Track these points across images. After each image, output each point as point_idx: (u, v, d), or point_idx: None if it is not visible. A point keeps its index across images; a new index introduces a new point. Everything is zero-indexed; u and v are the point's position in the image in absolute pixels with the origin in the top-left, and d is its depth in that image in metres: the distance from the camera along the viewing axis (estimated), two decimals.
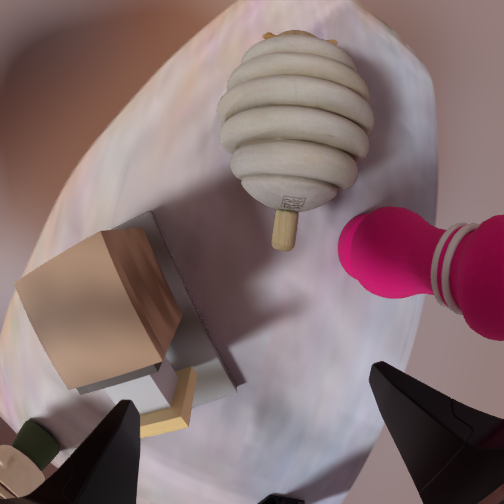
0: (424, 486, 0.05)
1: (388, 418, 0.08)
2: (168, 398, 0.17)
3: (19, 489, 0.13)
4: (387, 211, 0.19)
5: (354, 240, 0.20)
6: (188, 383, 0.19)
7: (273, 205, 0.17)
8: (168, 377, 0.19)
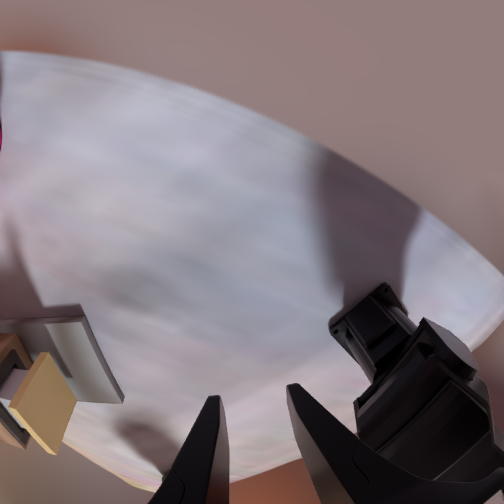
0: None
1: (300, 445, 0.08)
2: None
3: None
4: None
5: None
6: (29, 371, 0.16)
7: None
8: None
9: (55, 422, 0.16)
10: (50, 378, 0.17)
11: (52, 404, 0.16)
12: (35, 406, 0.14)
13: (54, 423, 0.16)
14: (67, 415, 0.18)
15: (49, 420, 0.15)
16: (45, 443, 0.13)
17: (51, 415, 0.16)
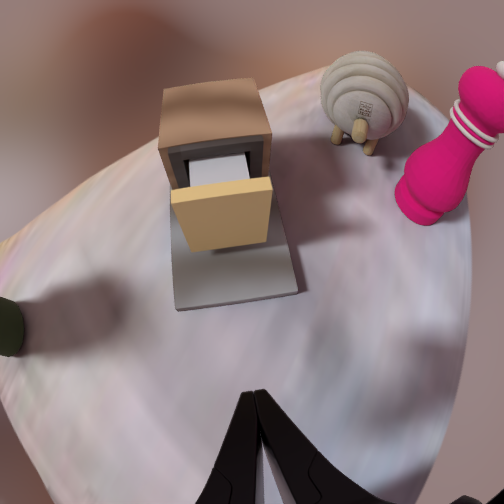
0: None
1: (266, 451, 0.08)
2: None
3: None
4: None
5: (406, 163, 0.25)
6: None
7: (353, 113, 0.24)
8: None
9: (203, 222, 0.19)
10: (245, 235, 0.21)
11: (222, 227, 0.20)
12: (245, 210, 0.18)
13: (204, 220, 0.18)
14: (191, 236, 0.20)
15: (214, 217, 0.18)
16: (199, 198, 0.16)
17: (215, 221, 0.19)
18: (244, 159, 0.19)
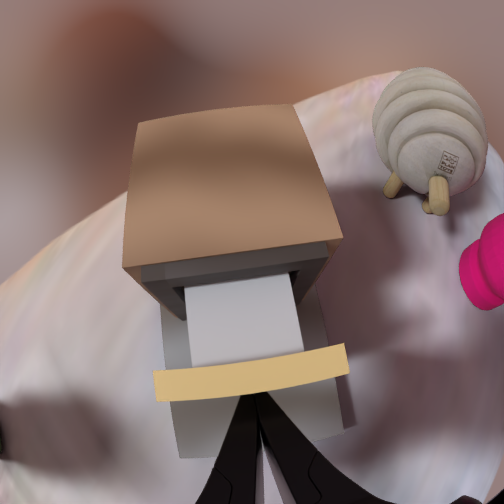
0: None
1: (266, 451, 0.08)
2: None
3: None
4: None
5: (484, 237, 0.16)
6: None
7: (431, 167, 0.15)
8: None
9: None
10: None
11: None
12: None
13: None
14: None
15: None
16: (211, 396, 0.08)
17: None
18: (286, 276, 0.11)
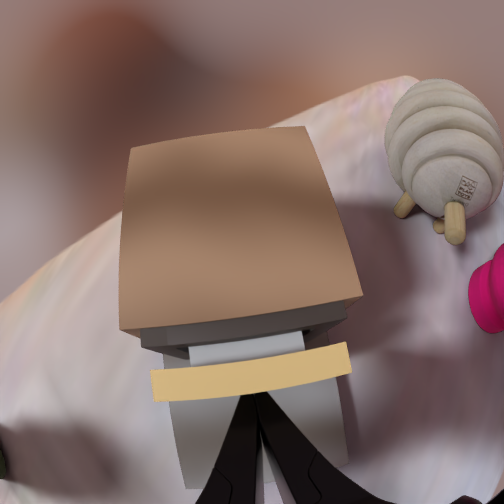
0: None
1: (266, 451, 0.08)
2: None
3: None
4: None
5: (496, 263, 0.15)
6: None
7: (448, 193, 0.14)
8: None
9: None
10: None
11: None
12: None
13: None
14: None
15: None
16: (209, 396, 0.07)
17: None
18: None
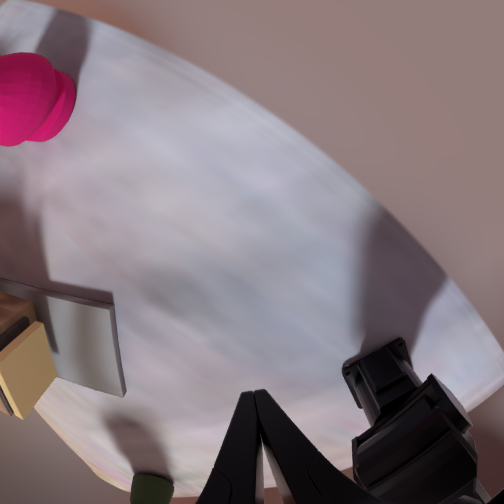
0: None
1: (266, 451, 0.08)
2: None
3: None
4: None
5: None
6: (19, 335, 0.17)
7: None
8: None
9: (31, 389, 0.16)
10: (38, 347, 0.18)
11: (33, 372, 0.17)
12: (16, 369, 0.15)
13: (30, 390, 0.16)
14: (44, 387, 0.18)
15: (26, 386, 0.16)
16: (16, 405, 0.14)
17: (29, 382, 0.16)
18: None
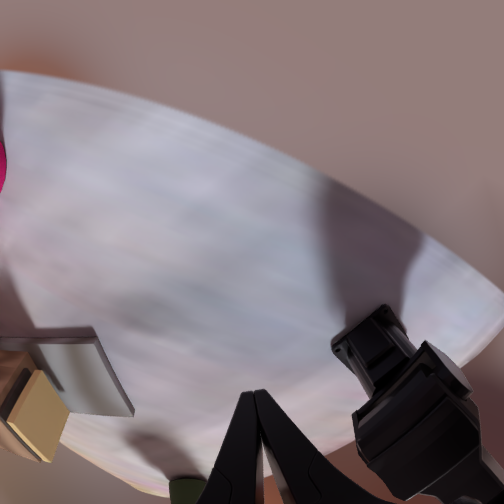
0: None
1: (266, 451, 0.08)
2: None
3: None
4: None
5: None
6: (24, 388, 0.16)
7: None
8: None
9: (49, 433, 0.16)
10: (44, 394, 0.18)
11: (46, 417, 0.17)
12: (31, 420, 0.15)
13: (48, 434, 0.16)
14: (60, 427, 0.19)
15: (44, 432, 0.16)
16: (40, 452, 0.14)
17: (45, 427, 0.16)
18: None
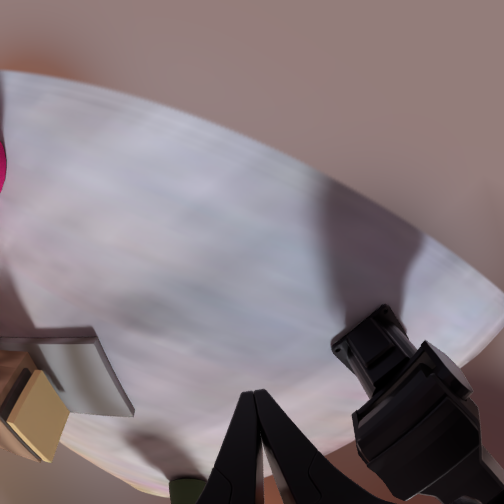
0: None
1: (266, 451, 0.08)
2: None
3: None
4: None
5: None
6: (24, 388, 0.16)
7: None
8: None
9: (49, 433, 0.16)
10: (44, 394, 0.18)
11: (46, 417, 0.17)
12: (31, 420, 0.15)
13: (48, 434, 0.16)
14: (60, 427, 0.19)
15: (44, 432, 0.16)
16: (40, 452, 0.14)
17: (45, 427, 0.16)
18: None
